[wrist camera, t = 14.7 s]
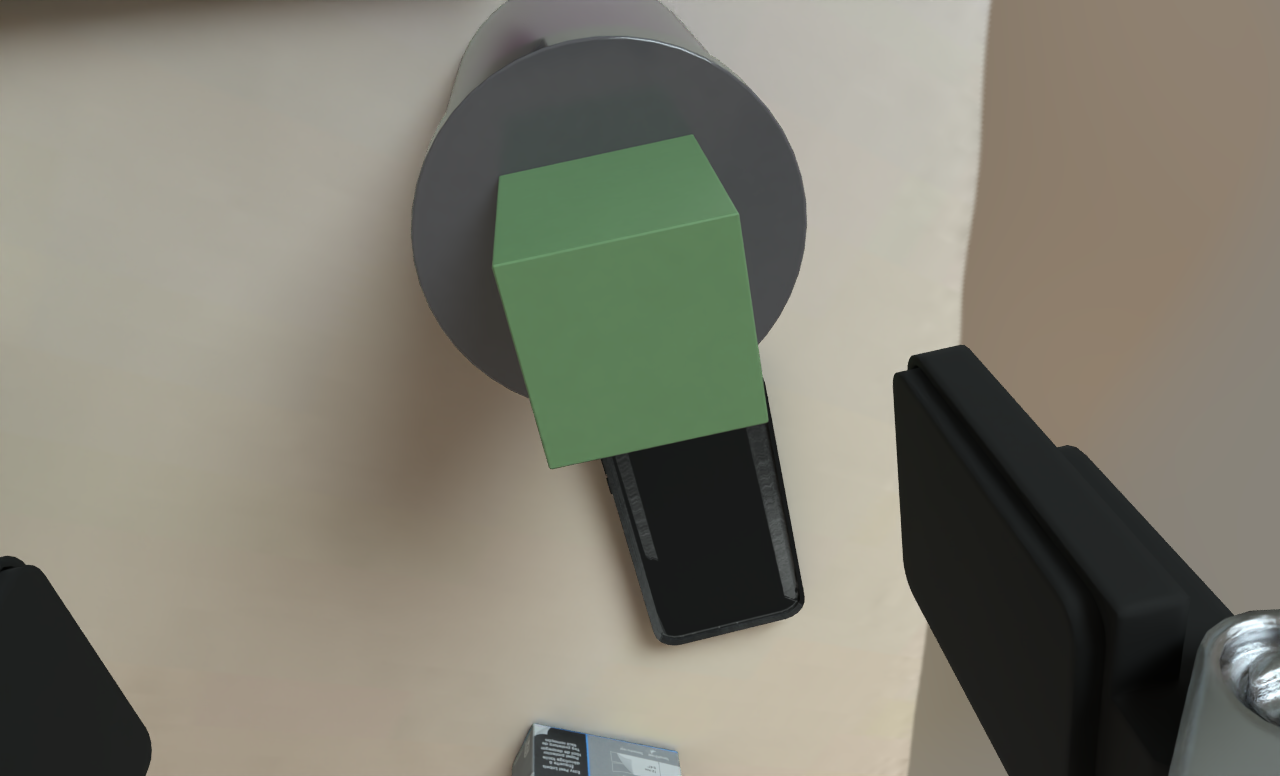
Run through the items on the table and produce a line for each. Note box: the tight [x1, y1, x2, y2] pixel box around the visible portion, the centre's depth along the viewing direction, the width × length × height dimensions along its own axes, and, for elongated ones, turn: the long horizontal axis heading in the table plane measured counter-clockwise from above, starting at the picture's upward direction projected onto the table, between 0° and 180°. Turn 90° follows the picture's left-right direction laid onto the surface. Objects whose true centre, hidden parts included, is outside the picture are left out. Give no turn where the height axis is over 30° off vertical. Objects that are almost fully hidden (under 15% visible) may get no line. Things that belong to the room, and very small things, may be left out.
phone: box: [601, 379, 805, 645], centre depth 46 cm, size 8×1×15 cm
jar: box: [411, 0, 807, 398], centre depth 32 cm, size 10×10×14 cm
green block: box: [492, 134, 769, 469], centre depth 23 cm, size 5×5×6 cm
